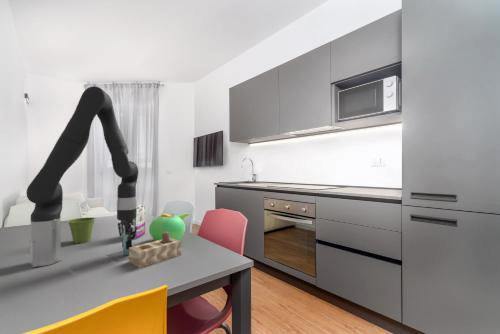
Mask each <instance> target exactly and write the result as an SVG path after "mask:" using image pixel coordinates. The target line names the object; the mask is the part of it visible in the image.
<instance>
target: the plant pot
mask: <svg viewBox="0 0 500 334" xmlns="http://www.w3.org/2000/svg"><path fill="white" fill-rule="evenodd" d="M95 220H96V217H79V218H73V219H69V220H67V223H68V225H69V228H70V232H71V233H70V234H71V236H72V237H71V238H72V242H73V243H74V244H79V243H80V244H83V243H88V242H89V241H91V240H92V239H91V238H92V232H93V226H94V224H95Z"/></svg>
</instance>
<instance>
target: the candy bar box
mask: <svg viewBox="0 0 500 334" xmlns="http://www.w3.org/2000/svg"><path fill="white" fill-rule="evenodd" d="M145 206H146V205H145V204H138V205H136V208H137V217H136V218H135V219H133V224H134V227H137V230H136V234H135V239H134V240H137V239H139V238H141V237H142V236H143V235H145V234H146V207H145Z"/></svg>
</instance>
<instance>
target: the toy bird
mask: <svg viewBox="0 0 500 334" xmlns="http://www.w3.org/2000/svg"><path fill="white" fill-rule="evenodd" d="M190 214H191V213H189V212H187V213H182V214H179V215H178V214H177V215H175V214H171V213H161V214H160V215H158V216H157V217H155V218H153V219H152V221H151V223H150V224H149V228H148V229H149V230H148V231H149V232H148V233H149V235H150V237H151V238H152V239H153V240H154V241H157V240H161V239H162V232H166V231H168V232H170V238H173V239H176V240H180V239H181V238H182V237H183V236H184V234H185V232H186V224H185V222H184V219H185V218H187V217H188V216H190Z"/></svg>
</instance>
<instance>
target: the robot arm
mask: <svg viewBox="0 0 500 334" xmlns="http://www.w3.org/2000/svg"><path fill="white" fill-rule="evenodd" d="M96 116H97V118H98V119H99V121H100V124H101V127H102V133H103V137H104V141H105V144H106V146H107V149H108V151H109V154H110V156H111V158H110V159H111V163H112V169H113V171H114V173H115V175H116V176H118V177H119V178H121V181H120V183H119V184H118V185H117V200H116V219H117V220H118V221H120V222H118V223H117V228H118V235H119V237H120V238H121V247H122V248H123V231H124V235H125V236H126V249H129V248H130V247H133V241H132V240H136V239H135V234H136V230H137V227H134V224H133V219H135V218H136V217H137V208H136V205H137V188H136V187H137V183H138V177H139V168H138V164H137V163H135V162H134V161H131V160H130V161H129V158H128V157H129V156H128V154H129V148H128V146H127V143H126V141H125V139H124V136H123V134H122V132H121V131H122V130H121V129H120V127H119V123H118V120H117V118H116V117H117V116H116V113H115V110H114V104H113V102H112V98H111V97H110V95H109V94H108V93H107V92H106V91H105V90H103V89H102V88H101V87H98V86H90V87H87V88H86V89H85V90H84V91H83V92H82V94H81V96H80V97H79V100H78V103H77V105H76V108H75V109H74V112H73V114H72V116H71V117H70V118H69V121H68V122H67V124H66V125H65V128H64V129H63V131H62V132H61V133H60V135H59V137H58V139H57V140H56V142H55V144H54V146H53V148H52V150H51V152H50V153H49V155H48V156H47V159H46V160H45V163H44V164H43V166H42V168H41V169H40V170H39V172H38V173H37V174H36V176H35V177H34V178H33V180H31V182H30V183H29V185H28V186H27V188H26V198H27V199H28V200H29V202H31V203H33V204H34V209H33V210H32V212H31V214H30V239H29V265H30V266H31V267H32V268H37V267H43V266H49V265H53V264H57V263H58V262H60V261H61V260H62V243H61V242H62V239H61V237H62V235H61V234H62V233H61V231H62V230H61V214H62V211H63V197H64V196H63V195H64V194H63V193H64V192H63V187H62V185H61V183H60V182H61V180H62V178H63V176H64V174H65V173H66V172H67V171H68V170H69V169H70V168H71V167H72V166H73V165H74V164H75V162H76V161H77V160H78V159H79V158H80V156H81V155H82V154H83V151H84V149H85V148H86V147H87V144H88V141H89V139H90V133H91V126H92V123H93V121H94V119H95V117H96ZM127 232H129V233H127Z"/></svg>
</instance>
